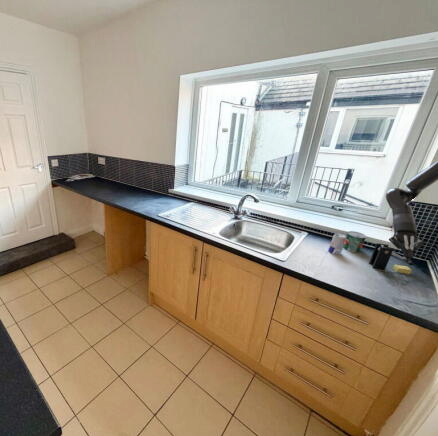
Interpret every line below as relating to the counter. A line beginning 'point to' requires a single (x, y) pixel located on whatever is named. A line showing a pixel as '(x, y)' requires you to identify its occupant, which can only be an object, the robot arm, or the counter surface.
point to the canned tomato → (354, 241)
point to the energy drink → (337, 244)
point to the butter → (402, 269)
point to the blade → (400, 257)
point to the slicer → (381, 257)
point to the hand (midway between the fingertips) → (409, 258)
